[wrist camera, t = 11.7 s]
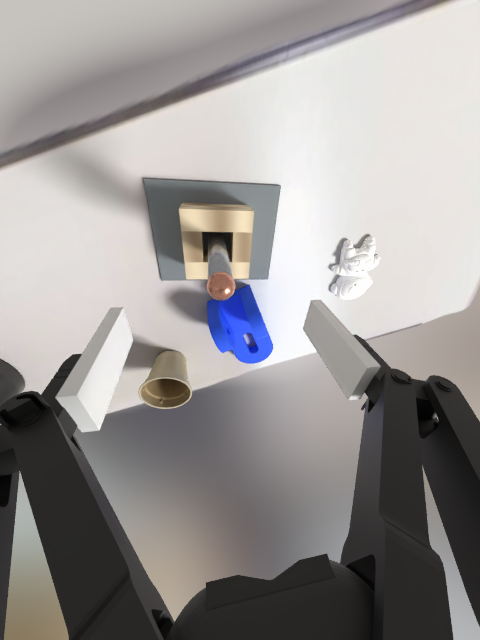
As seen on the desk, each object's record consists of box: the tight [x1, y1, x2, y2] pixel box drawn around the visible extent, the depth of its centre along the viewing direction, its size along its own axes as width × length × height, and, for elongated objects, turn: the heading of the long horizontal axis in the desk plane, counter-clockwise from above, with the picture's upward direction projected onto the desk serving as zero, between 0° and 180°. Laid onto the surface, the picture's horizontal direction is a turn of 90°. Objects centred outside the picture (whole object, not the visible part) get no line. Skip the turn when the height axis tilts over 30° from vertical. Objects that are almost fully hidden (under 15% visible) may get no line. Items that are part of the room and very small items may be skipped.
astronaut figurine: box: [330, 236, 380, 300], centre depth 38 cm, size 9×12×3 cm
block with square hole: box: [179, 203, 254, 279], centre depth 30 cm, size 9×9×5 cm
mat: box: [144, 179, 281, 281], centre depth 32 cm, size 18×14×1 cm
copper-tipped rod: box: [207, 232, 235, 301], centre depth 25 cm, size 3×3×17 cm
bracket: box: [207, 285, 273, 363], centre depth 40 cm, size 18×8×9 cm, turn 21°
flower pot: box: [139, 351, 192, 409], centre depth 43 cm, size 9×9×9 cm
